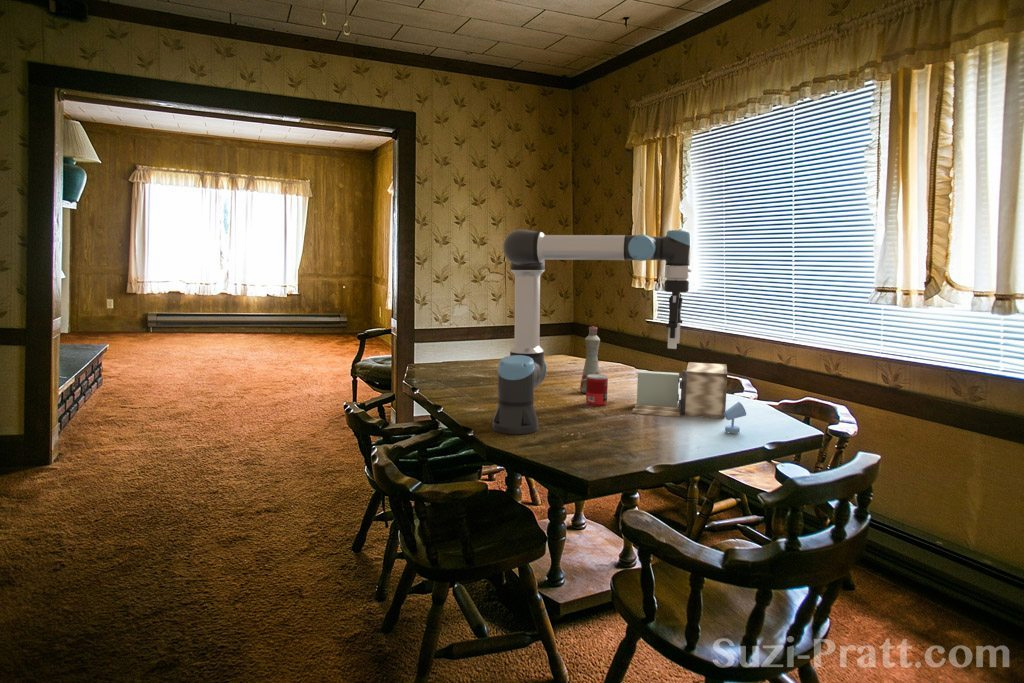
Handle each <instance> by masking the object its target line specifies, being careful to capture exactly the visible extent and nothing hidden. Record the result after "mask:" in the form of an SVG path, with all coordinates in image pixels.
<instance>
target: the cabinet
mask: <svg viewBox="0 0 1024 683" xmlns="http://www.w3.org/2000/svg"><path fill="white" fill-rule="evenodd" d="M727 385H728V366H727V364H726V363H710V362H693V361H690V362H689V361H688V364H687V367H686V370H682V371H681V380H680V382H679V389H680V399H679V401H678V407H677V408H671V407H658V406H645V405H637V404H635V405H634V408H632V414H640V415H650V416H652V415H653V416H662V417H663V416H664V417H665V416H666V417H677V418H679V417H681V416H689V417H699V416H703V417H702V418H712V417H719V418H718V419H724V418H725V416H724V412H725V411H726V408H727V405H726V404H727V390H728V389H727V387H728V386H727ZM725 419H726V418H725Z"/></svg>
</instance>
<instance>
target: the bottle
mask: <svg viewBox="0 0 1024 683" xmlns="http://www.w3.org/2000/svg"><path fill="white" fill-rule="evenodd" d="M597 334H598V327H597V326H594V325H592V326H589V327H588V336H586V337H585V338H584V342H585V351H586V356H585V361H584V366H583V372H582V376H581V380H580V384H579V385H580V386H579V391H580V393H583V394H585V395H586V386H587V375H590V374H600V367H599V360H598V353H599V349H600V348H599V347H600V343H601V339H600V337H599V336H598V335H597Z"/></svg>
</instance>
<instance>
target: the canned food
mask: <svg viewBox="0 0 1024 683" xmlns="http://www.w3.org/2000/svg"><path fill="white" fill-rule="evenodd" d="M608 382H609V381H608V375H605V374H590V375H587V386H586V394H585V396H586V397H585V399H586V400H585V403H586V405H588V406H591V405H592V406H591V407H604V406H606V405H607V403H608V386H609V385H608Z"/></svg>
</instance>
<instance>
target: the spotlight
mask: <svg viewBox="0 0 1024 683" xmlns="http://www.w3.org/2000/svg"><path fill="white" fill-rule="evenodd" d="M724 416H725V419H726V420H727V421H731V425H725V426H724V432H725V431H726V432H729V433H728V434H730V433H738V432H739V433H740V431H741V430H740V429H741V428H740V426H737V425H735V419H738V418H742V417H745V416H747V412H746V409H745V407H744V405H743V404H742V403H741V402H740V401H738V402H736V403H735V404H733V405H732V406H731V407H729V408H728V409H727V410H726V409H725V412H724ZM726 432H725V433H726Z"/></svg>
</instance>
